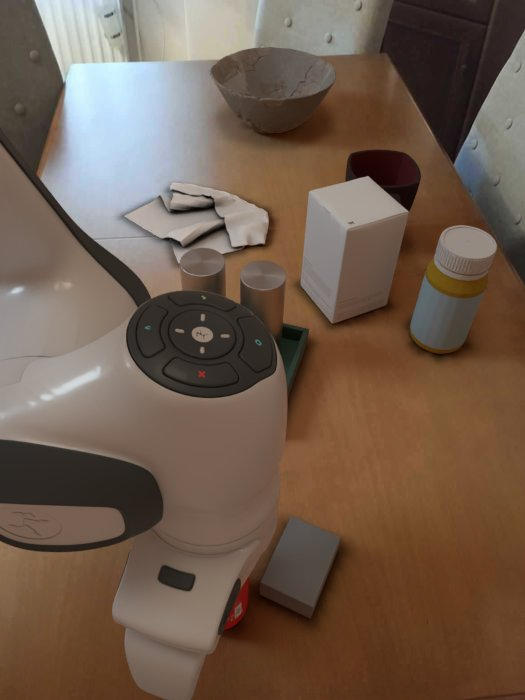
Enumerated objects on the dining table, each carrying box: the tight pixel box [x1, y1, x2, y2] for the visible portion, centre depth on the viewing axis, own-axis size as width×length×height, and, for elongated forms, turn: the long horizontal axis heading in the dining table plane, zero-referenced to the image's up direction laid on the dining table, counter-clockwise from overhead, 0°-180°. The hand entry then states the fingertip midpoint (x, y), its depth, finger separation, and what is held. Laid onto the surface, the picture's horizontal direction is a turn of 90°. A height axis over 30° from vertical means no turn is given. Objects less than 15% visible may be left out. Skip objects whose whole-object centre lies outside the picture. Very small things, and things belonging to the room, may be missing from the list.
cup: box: [344, 148, 422, 213], centre depth 85 cm, size 10×14×12 cm
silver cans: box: [179, 248, 287, 353], centre depth 70 cm, size 12×5×12 cm, turn 73°
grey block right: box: [258, 515, 342, 619], centre depth 54 cm, size 5×7×3 cm
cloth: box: [124, 181, 270, 265], centre depth 92 cm, size 20×22×2 cm
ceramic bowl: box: [209, 46, 337, 134], centre depth 111 cm, size 22×23×10 cm
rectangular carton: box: [300, 176, 410, 325], centre depth 76 cm, size 9×9×15 cm
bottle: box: [409, 224, 498, 355], centre depth 71 cm, size 7×7×15 cm
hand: (216, 584), depth 50 cm, fingers closed on beverage can, 5 cm apart
